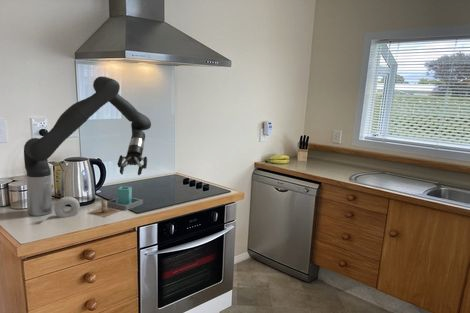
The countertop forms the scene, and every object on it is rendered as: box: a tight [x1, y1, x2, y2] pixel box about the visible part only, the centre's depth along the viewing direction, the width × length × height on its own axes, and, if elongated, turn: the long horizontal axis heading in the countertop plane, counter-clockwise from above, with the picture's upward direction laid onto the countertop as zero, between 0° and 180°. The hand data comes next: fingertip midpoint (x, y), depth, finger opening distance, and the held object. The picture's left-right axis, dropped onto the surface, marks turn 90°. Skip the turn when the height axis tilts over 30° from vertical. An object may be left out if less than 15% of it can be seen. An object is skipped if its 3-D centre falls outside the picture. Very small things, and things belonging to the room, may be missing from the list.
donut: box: [53, 196, 81, 218], centre depth 150 cm, size 10×3×10 cm, turn 124°
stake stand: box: [88, 200, 121, 218], centre depth 157 cm, size 10×10×6 cm
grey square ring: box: [106, 197, 144, 211], centre depth 169 cm, size 12×12×4 cm
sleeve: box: [117, 186, 133, 205], centre depth 168 cm, size 5×5×9 cm
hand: (130, 174), depth 176 cm, fingers open, 8 cm apart
